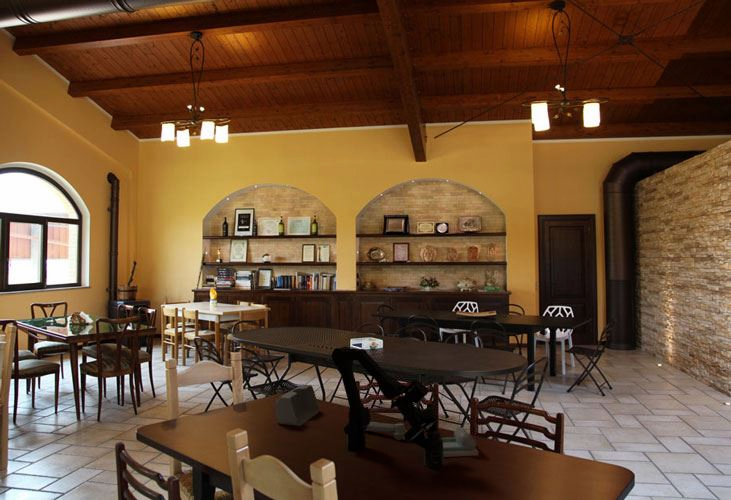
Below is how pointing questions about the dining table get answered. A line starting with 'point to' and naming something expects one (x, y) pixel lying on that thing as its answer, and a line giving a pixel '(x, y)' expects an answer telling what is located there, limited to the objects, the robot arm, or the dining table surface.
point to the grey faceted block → (297, 406)
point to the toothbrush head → (388, 429)
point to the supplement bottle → (434, 450)
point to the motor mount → (459, 444)
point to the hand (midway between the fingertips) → (437, 446)
